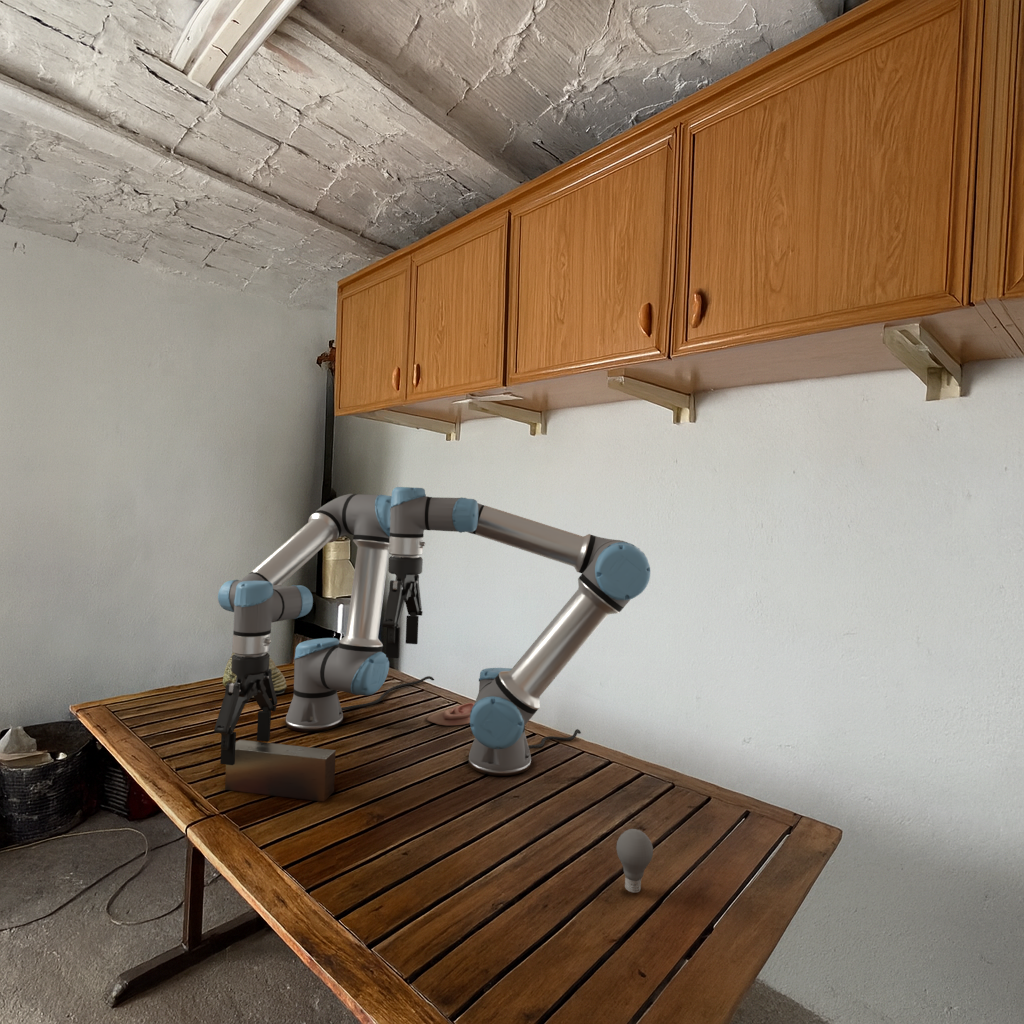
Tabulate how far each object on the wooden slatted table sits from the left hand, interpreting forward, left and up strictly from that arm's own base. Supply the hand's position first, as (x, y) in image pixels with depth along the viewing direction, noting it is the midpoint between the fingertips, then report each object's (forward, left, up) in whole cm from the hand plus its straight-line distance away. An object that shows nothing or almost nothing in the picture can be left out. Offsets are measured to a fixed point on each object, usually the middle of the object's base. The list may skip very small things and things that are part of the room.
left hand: (246, 751), depth 136 cm
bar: (-4, +7, -8) cm, 11 cm away
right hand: (-25, +21, +22) cm, 39 cm away
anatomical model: (-62, +2, -8) cm, 62 cm away
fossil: (-34, -56, -8) cm, 66 cm away
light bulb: (-24, +80, -8) cm, 84 cm away
